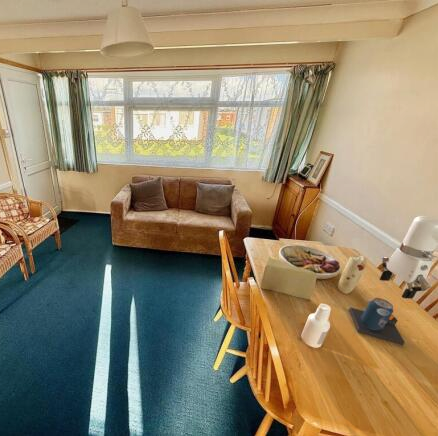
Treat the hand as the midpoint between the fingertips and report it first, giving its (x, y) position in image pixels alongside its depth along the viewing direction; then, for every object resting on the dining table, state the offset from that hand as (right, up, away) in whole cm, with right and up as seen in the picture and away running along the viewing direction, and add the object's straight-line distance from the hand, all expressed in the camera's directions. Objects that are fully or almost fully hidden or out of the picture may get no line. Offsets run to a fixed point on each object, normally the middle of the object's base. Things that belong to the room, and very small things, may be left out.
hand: (394, 288), depth 87 cm
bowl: (0, -1, +49) cm, 49 cm away
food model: (+7, -10, +30) cm, 32 cm away
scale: (+2, -19, +10) cm, 22 cm away
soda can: (-1, -18, +9) cm, 20 cm away
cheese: (-25, -10, +30) cm, 40 cm away
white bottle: (-29, -22, +4) cm, 37 cm away
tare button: (+8, -16, +10) cm, 20 cm away
